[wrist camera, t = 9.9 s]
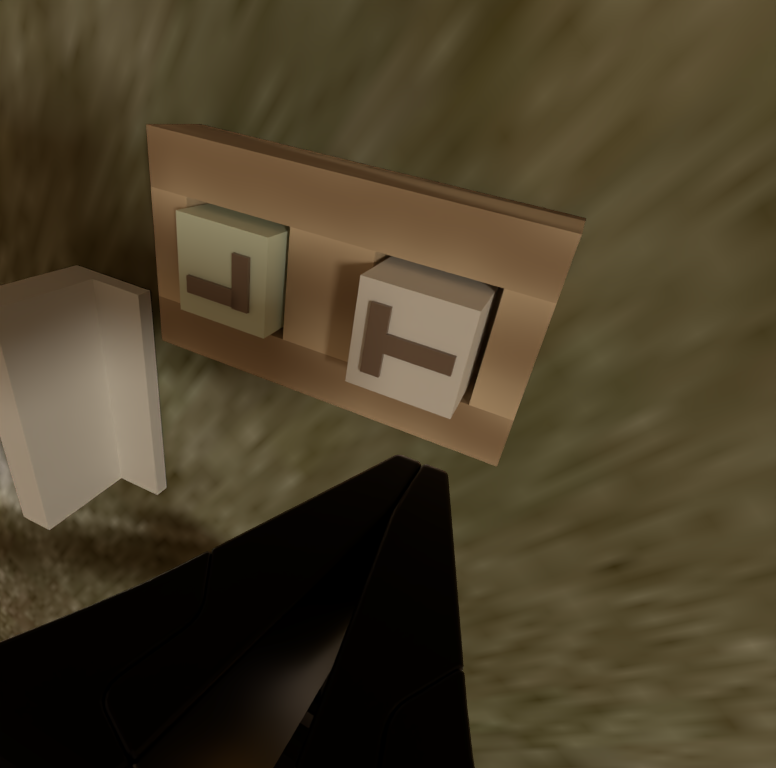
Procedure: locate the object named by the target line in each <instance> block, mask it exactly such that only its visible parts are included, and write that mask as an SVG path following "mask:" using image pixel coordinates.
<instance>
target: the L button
mask: <svg viewBox="0 0 776 768" xmlns="http://www.w3.org/2000/svg"><path fill="white" fill-rule="evenodd" d="M176 227H177V247H178V266H179V286H180V305H181V309H182V310H184V311H187V312H190V313H193V314H196V315H198V316H201V317H204V318H207V319H210V320H212V321H215V322H218V323H221V324H224V325H227V326H229V327H232V328H235V329H238V330H241V331H243V332H246V333H249V334H252V335H255V336H257V337H260V338H263V339H264V338H266V337H267V336H269V335H271V334H272V333H274V332H275V331H277V330H279V329H280V328H282V327H284V313H285V298H286V283H287V267H288V252H289V236H290V227H289V226H286V225H282V224H279V223H275V222H272V221H269V220H265V219H262V218H258V217H255V216H251V215H248V214H244V213H241V212H237V211H234V210H230V209H227V208H223V207H220V206H217V205H213V204H210V203H209V204H204V205H199V206H194V207H189V208H184V209H179V210H176Z"/></svg>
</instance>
